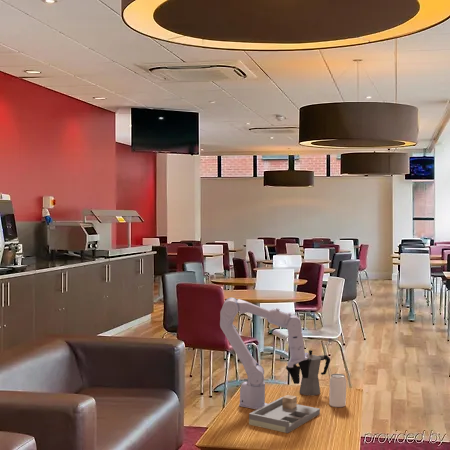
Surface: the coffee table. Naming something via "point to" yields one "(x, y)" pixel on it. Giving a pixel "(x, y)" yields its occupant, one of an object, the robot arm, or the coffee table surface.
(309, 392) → the coffeepot
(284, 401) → the block
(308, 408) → the box
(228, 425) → the coffee table surface
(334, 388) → the can
